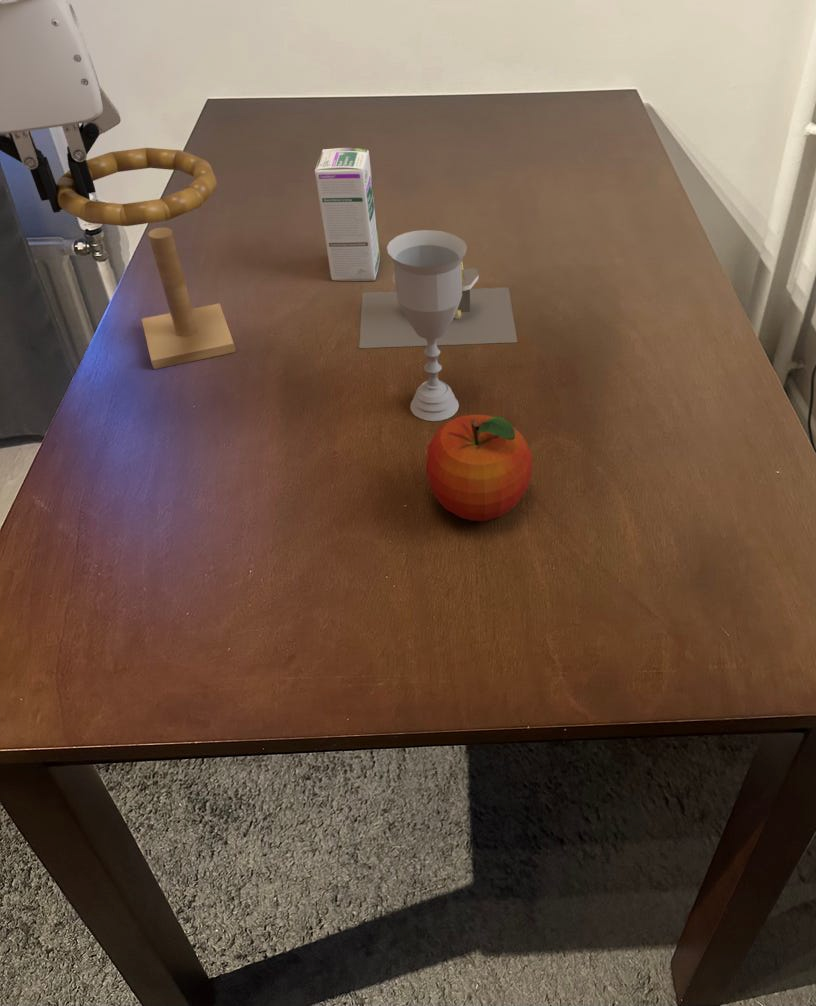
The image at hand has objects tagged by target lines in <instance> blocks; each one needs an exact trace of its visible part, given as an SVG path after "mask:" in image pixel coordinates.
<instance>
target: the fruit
mask: <svg viewBox="0 0 816 1006" xmlns="http://www.w3.org/2000/svg"><path fill="white" fill-rule="evenodd" d="M532 459H533V458H532V452H531V449H529V446H528V444H527V442H526V440H525V438H524V436H523V434H522V433H520V432H519V431H518V430H517V429H516V428H515V427H514V426H513V425H512V423H511V422H509V421H508V420H506V419H505V418H503V417H502V416H492V415H488V414H466V415H462V416H458V417H455V418H453V419H451V420H449V421H448V422H446V423H445V424H443V425H442V426H440V427H439V428H437V430H436V432H435V434H434V436H433V437H432V438H431V441H430V442H429V444H428V446H427V454H426V464H425V465H426V466H425V473H426V475H427V481H428V483H429V486H430V490H431V492H432V494H433V495H434V497H435V498H436V500H437V501H438V503H440V504H441V505H442V507H443V508H444V509H445V510H447V511H448V512H450V513H452V514H454V515H455V516H457V517H459V518H461V519H464V520H468V521H471V522H487V521H491V520H496V519H498V518H499V517H502V516H504V515H505V514H508V512H509V511H511V510H512V509H513V508H514V507H515V506H516V505H518V503H520V501H521V499H522V497H523V496H524V494H525V492H526V490H527V489H528V486H529V485H530V483H531V477H532V471H533V470H532V469H533V460H532Z"/></svg>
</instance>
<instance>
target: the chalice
mask: <svg viewBox="0 0 816 1006" xmlns="http://www.w3.org/2000/svg"><path fill="white" fill-rule="evenodd" d="M386 251H387V254H388V255H389V257H390V258H391V260H392V262H393V267H394V269H393V270H394V271H395V283H396V284H395V291H396V295H397V300H398V302H399V304H400V306H401V308H402V310H403V313H404V315H405V317H406V318H407V320H408V321H409V323H410V324H411V326H412V327H413V329H414V330H415V332H416V333H417V334H418V336H420V337H421V338H424V339H426V340H427V345H426V346H425V349H424V350H423V355H424V356H425V357H426V359H427V362H426V364H425V365H424V366H423V370H424V371H425V372H427V375H428V377H427V380H426V381H424V382H423V383H421V384H420V385H418V387H417V389H416V391H415V393H414V396H413V398H412V400H411V402H410V405H409V406H410V411H411V413H412V414H413V415H414V416H415V417H417V418H418V419H420V420H423V421H427V422H428V421H429V422H439V421H445V420H447V419H450V418H451V417H453V416H455V415H456V414H457V412H458V410H459V407H460V404H459V400H458V399H457V398H456V395H455V394H454V392H453V391H452V388H451V387H450V385H449V384H447V382H445V381H443V380H439V373H440V371H441V370H442V369H443V368H442V364H440V363H439V362H438V361H439V360H438V358H439V356H440V355H441V350H440V349H439V348H438V345H437V344H436V340H437V339H438V338H440V337H442V336H444V335H445V333H446V331H447V329H448V328H449V326H450V324H451V322H452V320H453V319H454V317H455V314H456V312H457V309H458V306H459V303H460V301H461V298H462V262H463V259H464V257H465V256H466V254H467V251H468V247H467V244H466V242H465V241H464V240H463V239H462V238H461V237H459V236H457V235H455V234H453V233H450V232H446V231H442V230H434V229H423V230H422V229H421V230H413V231H407V232H404V233H402V234H399V235H396V236H395V237H394V238H393V239H392V240H390V241H389V242H388V244H387V246H386Z"/></svg>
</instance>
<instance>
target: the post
mask: <svg viewBox="0 0 816 1006" xmlns="http://www.w3.org/2000/svg"><path fill="white" fill-rule="evenodd" d="M147 236H148V239H149V243H150V246H151V250H152V253H153V257H154V260H155V264H156V267H157V272H158V274H159V277H160V281H161V285H162V289H163V293H164V296H165V299H166V303H167V306H168V310H169V312H168V313H163V314H157V315H154V316H149V317H148V316H147V317H143V318H141V323H142V327H143V332H144V336H145V341H146V345H147V349H148V354H149V358H150V362H151V366H152V369H153V370H158V369H163V368H167V367H173V366H176V365H181V364H186V363H191V362H196V361H201V360H205V359H209V358H214V357H220V356H224V355H228V354H233V353H236V346H235V343H234V340H233V337H232V334H231V331H230V328H229V326H228V322H227V320H226V317H225V315H224V311H223V309H222V305H221V303H214V304H209V305H203V306H199V307H194V308H193V306H192V302H191V298H190V294H189V291H188V288H187V283H186V279H185V275H184V272H183V267H182V264H181V260H180V257H179V252H178V249H177V245H176V242H175V241H176V240H175V238H174V234H173V230H172V229H171V228H169V227H164V226H163V227H162V226H161V227H155V228H153V229H151V230H150V231H149V232H148V235H147Z"/></svg>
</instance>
